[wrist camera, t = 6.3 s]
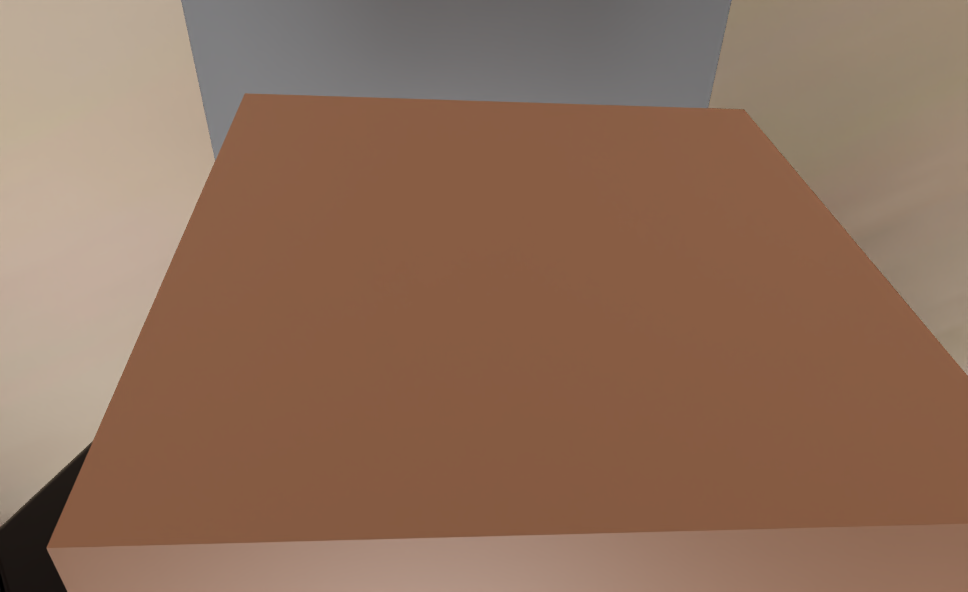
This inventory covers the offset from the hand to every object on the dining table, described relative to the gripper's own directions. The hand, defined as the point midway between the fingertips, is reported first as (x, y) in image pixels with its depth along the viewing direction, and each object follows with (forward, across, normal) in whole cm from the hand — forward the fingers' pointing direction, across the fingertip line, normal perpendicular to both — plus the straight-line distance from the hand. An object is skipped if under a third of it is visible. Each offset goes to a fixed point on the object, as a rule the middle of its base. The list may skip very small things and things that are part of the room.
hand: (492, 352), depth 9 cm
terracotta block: (+1, 0, 0) cm, 1 cm away
